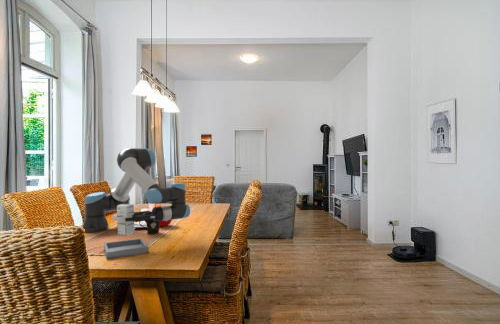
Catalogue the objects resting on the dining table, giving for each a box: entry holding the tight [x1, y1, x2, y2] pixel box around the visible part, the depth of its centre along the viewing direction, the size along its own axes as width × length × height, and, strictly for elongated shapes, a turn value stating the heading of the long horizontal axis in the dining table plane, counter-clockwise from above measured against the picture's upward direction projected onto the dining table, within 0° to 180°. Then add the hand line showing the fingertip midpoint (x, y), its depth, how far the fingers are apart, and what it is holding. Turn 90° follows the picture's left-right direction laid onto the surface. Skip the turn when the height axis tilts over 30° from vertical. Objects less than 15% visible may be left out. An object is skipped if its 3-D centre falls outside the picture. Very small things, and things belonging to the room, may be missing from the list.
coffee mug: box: [138, 220, 160, 235], centre depth 184 cm, size 12×9×10 cm
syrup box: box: [116, 203, 135, 236], centre depth 148 cm, size 6×6×14 cm
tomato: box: [159, 219, 173, 228], centre depth 203 cm, size 12×12×13 cm
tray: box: [103, 237, 149, 260], centre depth 148 cm, size 18×18×3 cm
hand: (115, 219), depth 145 cm, fingers closed on syrup box, 8 cm apart
